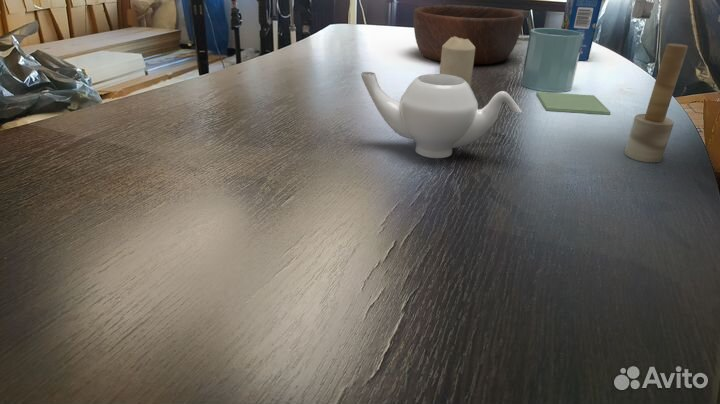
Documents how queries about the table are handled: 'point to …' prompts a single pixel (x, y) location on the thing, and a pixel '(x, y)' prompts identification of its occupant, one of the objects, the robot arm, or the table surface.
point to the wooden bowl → (468, 30)
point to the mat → (572, 103)
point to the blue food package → (582, 21)
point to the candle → (458, 58)
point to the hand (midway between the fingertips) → (683, 20)
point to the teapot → (437, 112)
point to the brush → (657, 111)
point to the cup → (551, 59)
